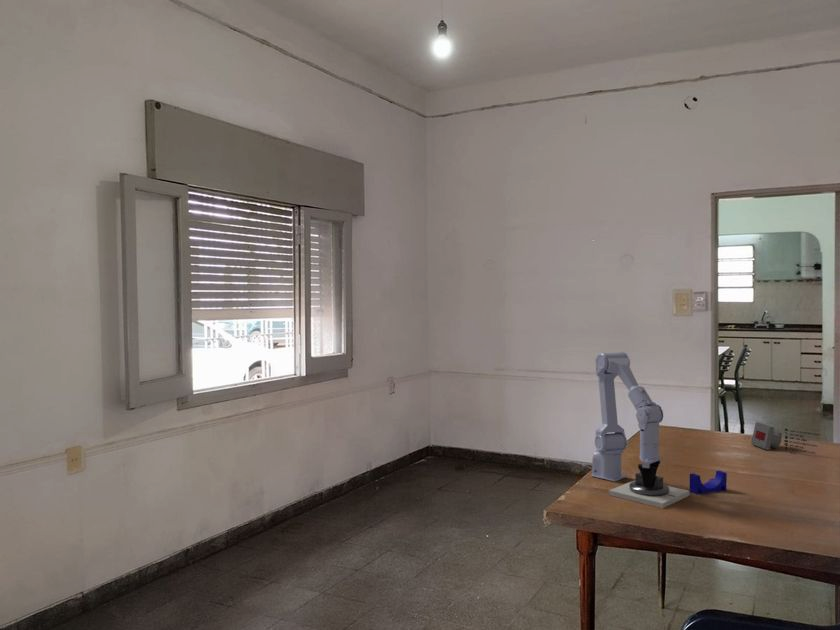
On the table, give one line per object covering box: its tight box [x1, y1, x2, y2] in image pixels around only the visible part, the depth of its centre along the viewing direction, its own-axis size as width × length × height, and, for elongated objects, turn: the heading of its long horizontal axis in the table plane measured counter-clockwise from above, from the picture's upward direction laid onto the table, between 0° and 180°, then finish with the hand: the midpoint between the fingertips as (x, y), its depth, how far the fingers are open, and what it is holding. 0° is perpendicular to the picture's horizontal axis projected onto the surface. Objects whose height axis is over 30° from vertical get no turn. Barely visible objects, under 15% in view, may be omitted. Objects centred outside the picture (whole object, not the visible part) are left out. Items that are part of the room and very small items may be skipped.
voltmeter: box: [750, 421, 820, 455], centre depth 263 cm, size 27×11×10 cm, turn 41°
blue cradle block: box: [689, 470, 728, 495], centre depth 211 cm, size 12×4×6 cm, turn 107°
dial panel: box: [608, 479, 690, 509], centre depth 206 cm, size 18×18×2 cm
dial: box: [629, 471, 669, 496], centre depth 206 cm, size 12×12×4 cm
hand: (649, 485), depth 206 cm, fingers closed on dial, 5 cm apart
